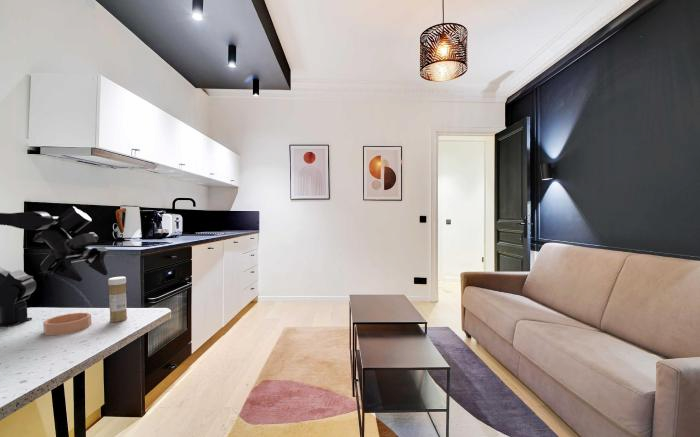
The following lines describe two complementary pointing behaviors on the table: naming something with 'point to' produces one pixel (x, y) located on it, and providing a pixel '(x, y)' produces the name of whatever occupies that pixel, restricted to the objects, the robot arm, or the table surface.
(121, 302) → the sprinkles bottle
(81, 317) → the terracotta bowl
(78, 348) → the table surface
